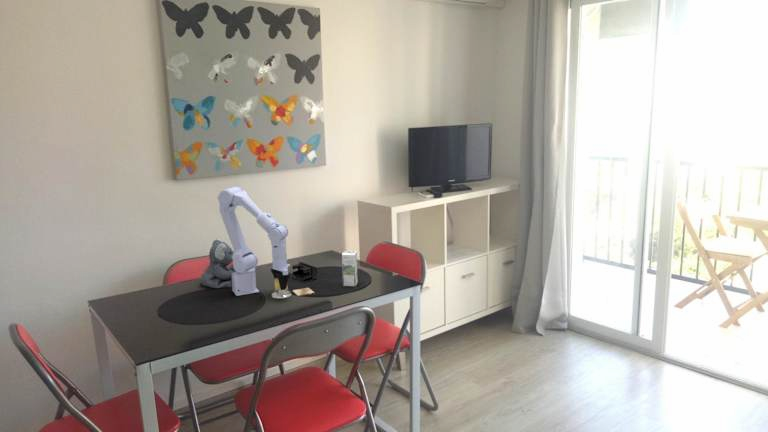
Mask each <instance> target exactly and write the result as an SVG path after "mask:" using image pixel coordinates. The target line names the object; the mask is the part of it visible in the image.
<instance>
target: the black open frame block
mask: <svg viewBox="0 0 768 432" xmlns="http://www.w3.org/2000/svg"><path fill="white" fill-rule="evenodd" d="M291 268H292V270H293V271H292V276H293V277H292V278H293V279H294V280H297V281H299V282H302V283H304V282H305V283H308V281H309V282H312V281H314V279H316V278H317V276H318V271H319V270H318V268H317V267H316V265H315V266H314V265H312V264H308V263H306V262H304V261H303V262H302V261H298V263H297V264H294V265H292V267H291ZM296 269H297V270H296ZM311 280H312V281H311Z"/></svg>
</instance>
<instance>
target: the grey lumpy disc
mask: <svg viewBox="0 0 768 432" xmlns="http://www.w3.org/2000/svg"><path fill="white" fill-rule="evenodd" d="M292 295H293V294H292V291H290V290H289V288H288V287H287V289H286V290H275V289H274V292H272V293H271V298H273V299H275V300H276V299H279V300H280V299H287V298H290V297H292Z"/></svg>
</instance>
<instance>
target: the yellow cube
mask: <svg viewBox="0 0 768 432" xmlns="http://www.w3.org/2000/svg"><path fill="white" fill-rule="evenodd" d="M287 288H288V286H287V287H286V289H287ZM286 289H285V290H286ZM275 290H281V289H280V285H279V280H278V278H275V279H274V291H275Z"/></svg>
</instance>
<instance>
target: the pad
mask: <svg viewBox="0 0 768 432" xmlns="http://www.w3.org/2000/svg"><path fill="white" fill-rule="evenodd" d="M292 293H294V294H295V295H296V296H297V297H301V296H306V295H307V294H308V295H313V294H315V291H313V290H312V289H311V288H310V287H305V288H299V289H293V290H292ZM312 293H313V294H312ZM308 295H307V296H308Z"/></svg>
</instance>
